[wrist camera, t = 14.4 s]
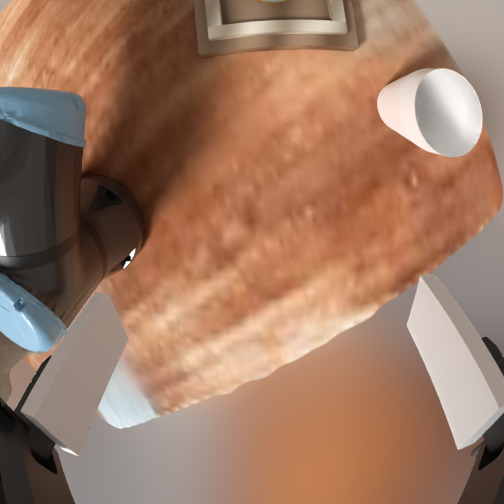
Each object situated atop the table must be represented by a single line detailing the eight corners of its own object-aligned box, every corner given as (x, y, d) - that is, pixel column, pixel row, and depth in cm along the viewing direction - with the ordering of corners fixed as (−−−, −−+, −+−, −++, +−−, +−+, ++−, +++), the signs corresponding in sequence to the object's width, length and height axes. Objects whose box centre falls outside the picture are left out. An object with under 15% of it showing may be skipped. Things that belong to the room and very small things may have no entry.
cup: (368, 67, 27) (413, 54, 17) (429, 82, 27) (485, 83, 17) (365, 134, 32) (408, 150, 21) (424, 145, 31) (478, 166, 21)
